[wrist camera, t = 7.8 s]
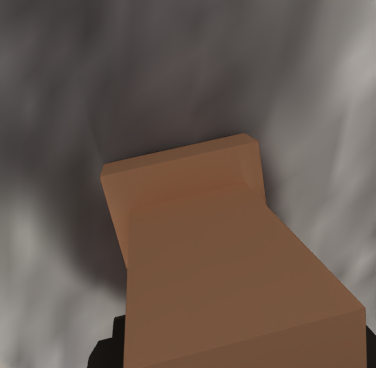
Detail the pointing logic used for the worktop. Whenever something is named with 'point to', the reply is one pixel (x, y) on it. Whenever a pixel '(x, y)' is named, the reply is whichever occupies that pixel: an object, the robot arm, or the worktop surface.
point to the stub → (222, 268)
